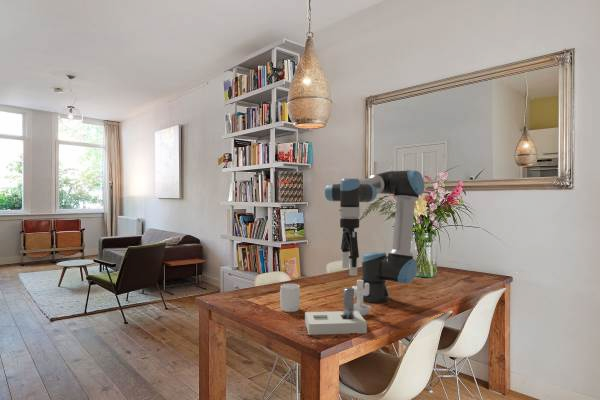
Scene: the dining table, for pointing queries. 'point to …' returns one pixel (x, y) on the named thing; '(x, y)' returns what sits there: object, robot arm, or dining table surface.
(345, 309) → the steel pin
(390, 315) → the dining table surface
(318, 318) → the bore block
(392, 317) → the dining table surface
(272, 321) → the dining table surface
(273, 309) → the dining table surface
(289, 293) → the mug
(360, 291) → the figurine
